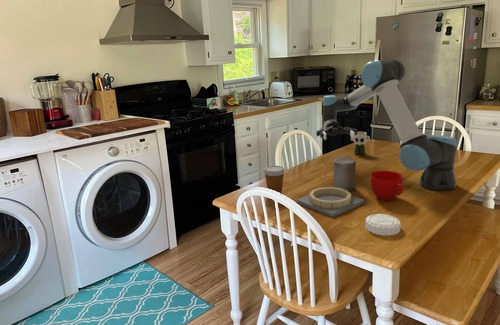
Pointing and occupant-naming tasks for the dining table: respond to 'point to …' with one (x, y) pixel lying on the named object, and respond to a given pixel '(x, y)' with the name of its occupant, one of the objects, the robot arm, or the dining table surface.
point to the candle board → (332, 198)
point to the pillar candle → (344, 173)
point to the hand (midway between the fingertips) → (339, 136)
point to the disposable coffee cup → (274, 177)
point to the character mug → (360, 142)
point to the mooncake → (382, 224)
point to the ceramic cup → (386, 184)
